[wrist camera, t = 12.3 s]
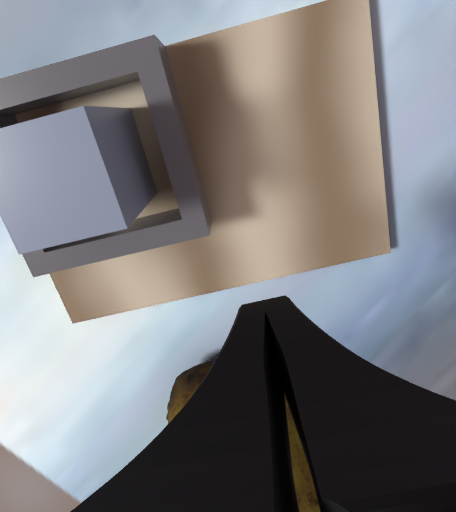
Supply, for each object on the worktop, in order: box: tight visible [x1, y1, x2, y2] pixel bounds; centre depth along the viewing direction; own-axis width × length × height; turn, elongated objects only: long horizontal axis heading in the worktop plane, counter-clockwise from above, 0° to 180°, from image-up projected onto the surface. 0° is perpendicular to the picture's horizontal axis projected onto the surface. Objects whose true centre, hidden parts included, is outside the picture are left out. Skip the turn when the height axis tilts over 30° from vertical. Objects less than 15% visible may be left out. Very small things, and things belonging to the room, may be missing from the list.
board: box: [15, 0, 391, 323], centre depth 18 cm, size 18×12×1 cm, turn 104°
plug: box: [0, 106, 158, 254], centre depth 15 cm, size 4×4×6 cm
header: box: [0, 35, 212, 277], centre depth 16 cm, size 9×8×2 cm
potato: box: [166, 362, 320, 512], centre depth 20 cm, size 8×13×8 cm, turn 21°
